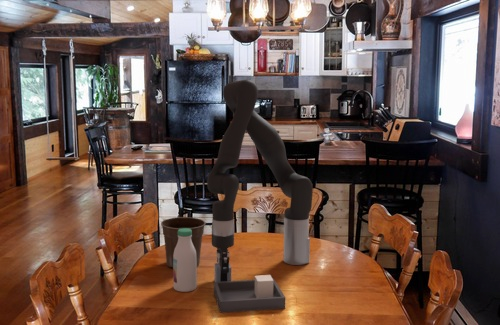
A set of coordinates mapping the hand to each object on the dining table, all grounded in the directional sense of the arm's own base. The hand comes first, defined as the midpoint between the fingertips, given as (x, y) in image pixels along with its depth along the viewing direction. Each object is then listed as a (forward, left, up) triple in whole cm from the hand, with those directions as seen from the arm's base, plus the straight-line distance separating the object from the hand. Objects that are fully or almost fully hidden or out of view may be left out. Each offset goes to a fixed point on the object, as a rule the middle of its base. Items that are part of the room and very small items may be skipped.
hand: (222, 279), depth 195 cm
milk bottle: (+13, +3, -1) cm, 13 cm away
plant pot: (+12, -20, -1) cm, 23 cm away
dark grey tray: (-6, +16, -1) cm, 17 cm away
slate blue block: (0, 0, -1) cm, 1 cm away
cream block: (-11, +16, 0) cm, 19 cm away
